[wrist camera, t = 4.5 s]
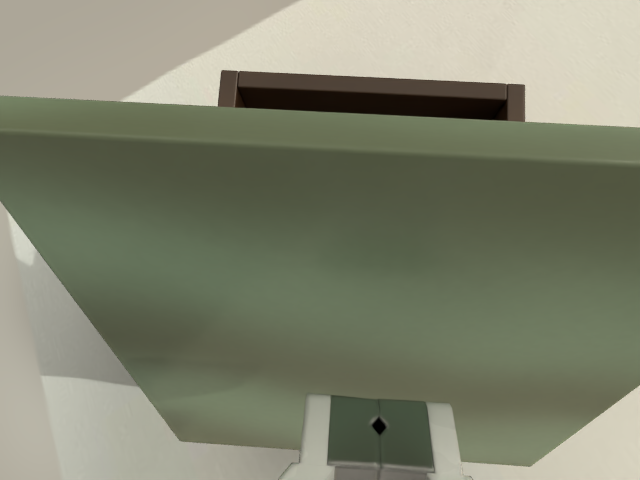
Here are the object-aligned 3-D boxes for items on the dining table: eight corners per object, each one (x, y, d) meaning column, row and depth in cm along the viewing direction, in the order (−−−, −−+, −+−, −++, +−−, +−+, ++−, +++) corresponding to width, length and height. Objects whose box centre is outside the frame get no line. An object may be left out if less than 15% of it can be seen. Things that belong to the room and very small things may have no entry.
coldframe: (252, 144, 35) (220, 69, 25) (471, 155, 34) (525, 84, 24) (230, 401, 32) (184, 429, 22) (466, 418, 31) (525, 453, 22)
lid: (-34, 91, 8) (-57, 128, 8) (888, 137, 8) (919, 180, 7) (183, 421, 22) (179, 441, 22) (528, 445, 22) (531, 467, 21)
